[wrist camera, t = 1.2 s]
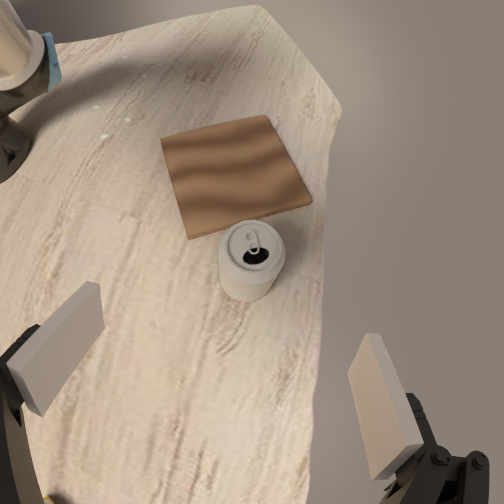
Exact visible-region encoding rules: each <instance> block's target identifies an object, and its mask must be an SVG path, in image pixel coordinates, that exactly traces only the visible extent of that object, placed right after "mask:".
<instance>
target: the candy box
mask: <svg viewBox="0 0 504 504" xmlns="http://www.w3.org/2000/svg"><path fill="white" fill-rule="evenodd" d="M43 500H44V503H45V504H55V503H54V502H53V501H52V500H51V499H50V498H49V496H46V497H44V498H43Z"/></svg>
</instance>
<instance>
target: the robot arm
mask: <svg viewBox="0 0 504 504" xmlns="http://www.w3.org/2000/svg"><path fill="white" fill-rule="evenodd" d="M61 79H62V76H61V71H60V67H59V63H58V59H57V54H56V50H55V46H54V41H53V37H52V34H51V33H49V32H48V33H45V34H42V35H40V34H39V33H37V32H35V31H32V30H26V29H25V27H24V25H23V24H22V22H21V21H20V19H19V17H18V16H17V14H16V12H15V11H14V9H13V7H12V6H11V4H10V2H9V0H0V183H1V182H3V181H5V180H6V179H8V178H9V177H10V176H11V175H12V174H13V173H14V172H15V171H16V170H17V169H18V168H19V167H20V165H21V164H22V163H23V161H24V160H25V158H26V156H27V154H28V152H29V149H30V146H31V136H30V134H29V133H28V131H27V130H26V128H25V127H23V126H21V125H20V124H19V123H17V122H16V121H14V120H13V119H11V118H10V117H9V116H8V115H9V114H10V113H12V112H13V111H15V110H16V109H18V108H19V107H21V106H23V105H24V104H26V103H27V102H29V101H31V100H32V99H34V98H36V97H37V96H39V95H41V94H43V93H46V92H48V91H49V90H50V89H51V88H53V87H55V86H56V85H58V84H59V83H60V81H61ZM103 330H104V322H103V314H102V305H101V295H100V284H96V283H93V282H89V281H87V282H86V283H85V284H83V285H82V286H81V287H80V288H79V289H78V290H77V291H76V292H75V293H74V294H73V295H72V296H71V297H70V298H69V299H68V300H67V301H65V302H64V303H63V304H62V305H61V306H60V307H59V308H58V309H57V310H56V311H55V312H54V313H53V314H52V315H51V316H50V317H49V318H48V319H47V320H46V321H45V322H44V323H43V324H42V325H41V326H40V325H38V324H36V325H34V326H32V327H30V328H28V329H27V330H26V331H25V332H24V333H23V334H22V335H21V337H19V338H18V339H17V340H16V342H14V343H13V344H12V345H11V346H10V347H9V348H8V349H7V350H6V352H5V353H4V354H3V355H2V356H1V357H0V504H45V503H44V500H43V497H42V494H41V491H40V488H39V485H38V481H37V478H36V474H35V470H34V466H33V462H32V458H31V454H30V449H29V445H28V440H27V434H26V429H25V423H24V416H23V411H22V408H21V405H22V404H23V402H25V404H26V406H27V407H28V409H29V410H30V411H32V412H34V413H35V414H37V415H39V416H41V417H43V415H44V414H45V412H46V411H47V409H48V408H49V406H50V405H51V403H52V402H53V400H54V399H55V397H56V396H57V394H58V393H59V391H60V390H61V388H62V387H63V385H64V384H65V382H66V381H67V379H68V378H69V377H70V375H71V374H72V372H73V371H74V369H75V368H76V367H77V365H78V364H79V362H80V361H81V360H82V358H83V357H84V355H85V354H86V353H87V351H88V350H89V349H90V347H91V346H92V344H93V343H94V342H95V340H96V339H97V338H98V336H99V335H100V334H101V332H102V331H103ZM347 374H348V378H349V382H350V386H351V390H352V394H353V398H354V403H355V407H356V411H357V415H358V420H359V424H360V429H361V433H362V438H363V442H364V447H365V452H366V456H367V462H368V467H369V471H370V477H371V481H375V480H384V479H388V478H389V477H390V476H391V475H393V473H395V474H396V478H397V479H396V480H395V481H393V482H392V483H391V484H390V485H389V486H388V487H387V488H386V489H385V490H384V491H387V490H388V489H389V490H388V491H387V493H386V495H385V496H384V498H383V499H382V501H381V502H380V504H488V497H489V460H488V458H487V456H486V455H484V453H482V452H480V451H473V452H471V453H470V454H468V455H467V456H466V457H465V458H464V457H456V456H451V454H450V453H449V451H448V450H447V449H445V448H444V447H442V446H439V445H437V443H436V441H435V438H434V436H433V433H432V430H431V428H430V425H429V423H428V420H427V419H426V415H425V413H424V412H423V408H422V406H421V404H420V401H419V400H418V399H417V398H416V397H415V395H413V393H405V392H404V389H403V387H402V385H401V382H400V380H399V377H398V375H397V373H396V370H395V368H394V366H393V363H392V361H391V359H390V356H389V354H388V352H387V350H386V347H385V345H384V343H383V341H382V338H381V336H380V334H374V333H366V334H365V336H364V338H363V340H362V343H361V345H360V347H359V349H358V352H357V354H356V356H355V358H354V360H353V362H352V364H351V366H350V368H349V370H348V373H347Z"/></svg>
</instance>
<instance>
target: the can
mask: <svg viewBox="0 0 504 504" xmlns="http://www.w3.org/2000/svg"><path fill="white" fill-rule="evenodd" d="M285 255H286V250H285V245H284V241H283V240H282V238H281V236H280V235H279V233H278V232H277V231H276V230H275V229H274V228H273V227H272V226H271V225H269V224H267V223H265V222H263V221H259V220H253V219H252V220H244V221H241V222H239V223H237V224H234V225H232V226H231V227H230V228H229V229H228V230H226V231H225V232H224V234H223V236H222V237H221V239H220V241H219V246H218V266H219V278H220V284H221V286H222V288H223V290H224V291H225V292H226V293H227V294H228V295H229V296H230V297H232V298H234V299H236V300H238V301H243V302H250V301H256V300H258V299H260V298H262V297H263V296H264V295H265V294H266V293H267V292H268V291H269V289H270V288H271V286H272V284H273V283H274V281H275V279H276V277H277V276H278V274H279V272H280V271H281V268H282V266H283V264H284V262H285Z"/></svg>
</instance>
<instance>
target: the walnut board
mask: <svg viewBox="0 0 504 504" xmlns="http://www.w3.org/2000/svg"><path fill="white" fill-rule="evenodd" d="M160 140H161V144H162V148H163V152H164V156H165V160H166V163H167V167H168V171H169V174H170V178H171V182H172V185H173V189H174V192H175V196H176V199H177V203H178V206H179V209H180V213H181V216H182V219H183V223H184V226H185V229H186V233H187V236H188V239H189V240H191V239H194V238H197V237H200V236H204V235H207V234H210V233H213V232H216V231H220V230H223V229H226V228H230V227H231V226H232V225H234V224H237V223H239V222H241V221H244V220H252V219H253V220H256V219H260V218H263V217H267V216H270V215H274V214H277V213H280V212H284V211H287V210H291V209H294V208H298V207H301V206H305V205H309V204H311V202H312V199H311V197H310V195H309V193H308V191H307V189H306V187H305V185H304V184H303V182H302V180H301V178H300V176H299V174H298V172H297V170H296V168H295V167H294V165H293V163H292V161H291V159H290V157H289V156H288V154H287V152H286V150H285V148H284V147H283V145H282V143H281V141H280V139H279V138H278V136H277V134H276V132H275V131H274V129H273V127H272V125H271V124H270V122H269V120H268V119H267V117H266V115H261V116H256V117H250V118H245V119H240V120H235V121H230V122H226V123H221V124H217V125H212V126H208V127H204V128H200V129H196V130H192V131H188V132H184V133H180V134H176V135H173V136H169V137H166V138H162V139H160Z"/></svg>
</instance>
